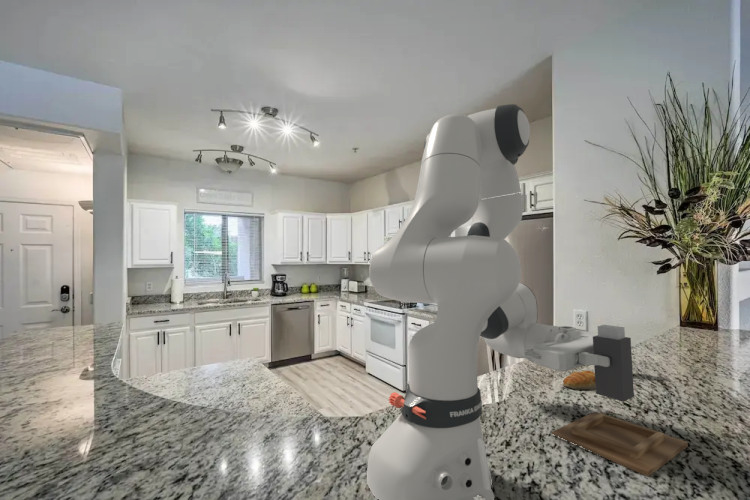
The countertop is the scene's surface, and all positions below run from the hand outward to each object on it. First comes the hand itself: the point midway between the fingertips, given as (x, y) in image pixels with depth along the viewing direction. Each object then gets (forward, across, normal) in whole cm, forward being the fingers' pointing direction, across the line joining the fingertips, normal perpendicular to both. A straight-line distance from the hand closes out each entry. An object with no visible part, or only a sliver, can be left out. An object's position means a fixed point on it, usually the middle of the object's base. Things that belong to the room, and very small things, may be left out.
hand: (617, 359), depth 66 cm
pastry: (-20, +24, +16) cm, 35 cm away
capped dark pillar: (-1, 0, +7) cm, 7 cm away
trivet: (-1, 0, +16) cm, 16 cm away
